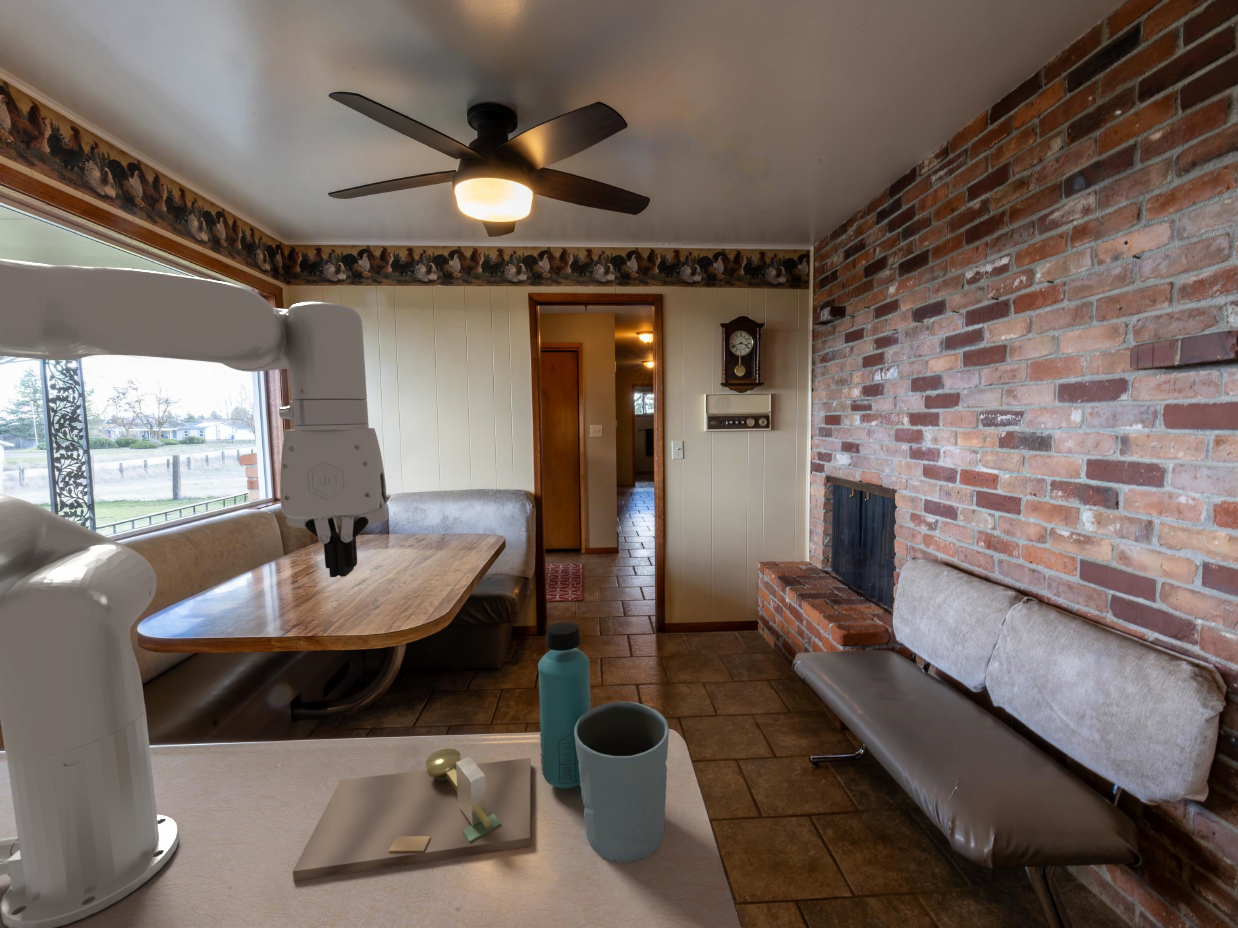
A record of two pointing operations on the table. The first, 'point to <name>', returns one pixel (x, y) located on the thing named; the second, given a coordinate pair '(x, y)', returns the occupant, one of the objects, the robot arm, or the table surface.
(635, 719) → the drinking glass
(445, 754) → the gold and silver piece
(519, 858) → the table surface
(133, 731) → the robot arm
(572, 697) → the beverage bottle
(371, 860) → the cutting board
